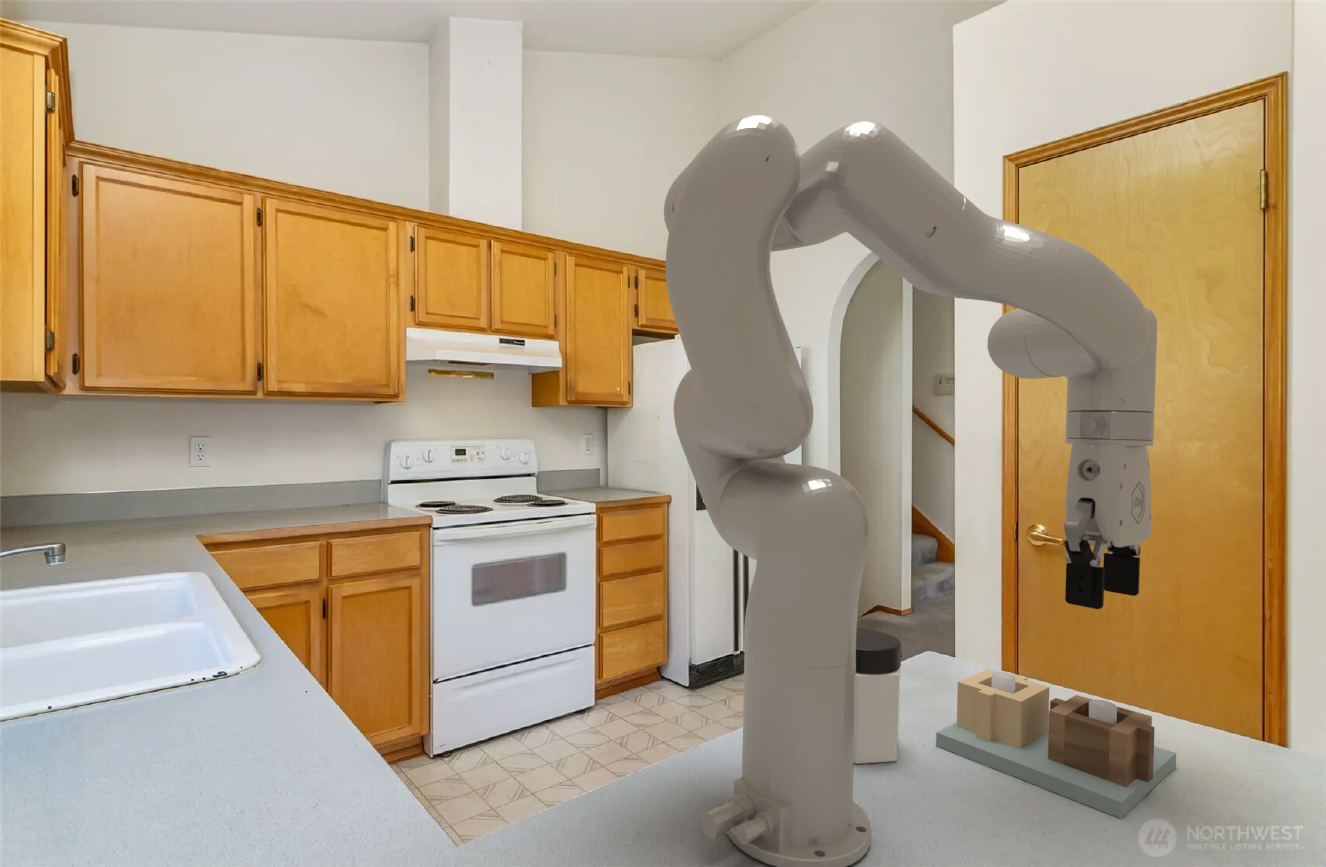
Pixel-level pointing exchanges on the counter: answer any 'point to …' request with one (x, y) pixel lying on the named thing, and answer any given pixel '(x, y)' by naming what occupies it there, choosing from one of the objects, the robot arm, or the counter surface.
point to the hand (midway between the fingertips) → (1102, 599)
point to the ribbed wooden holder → (1101, 742)
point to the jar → (876, 697)
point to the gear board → (1035, 741)
